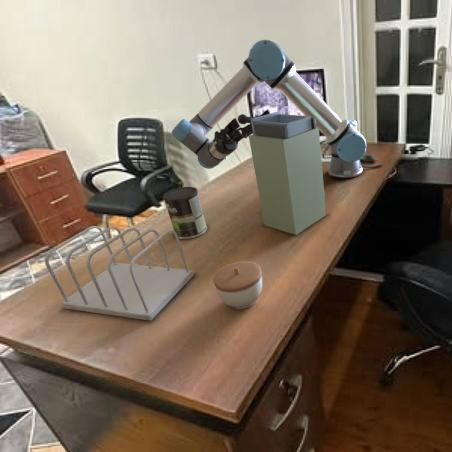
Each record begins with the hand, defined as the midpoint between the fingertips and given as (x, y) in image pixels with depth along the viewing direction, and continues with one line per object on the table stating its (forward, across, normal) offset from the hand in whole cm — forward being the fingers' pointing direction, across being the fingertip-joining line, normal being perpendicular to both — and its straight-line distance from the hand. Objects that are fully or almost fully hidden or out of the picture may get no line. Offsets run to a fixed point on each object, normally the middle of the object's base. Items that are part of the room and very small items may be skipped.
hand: (253, 117), depth 110 cm
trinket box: (+9, +38, -44) cm, 59 cm away
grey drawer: (+3, 0, -6) cm, 7 cm away
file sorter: (-15, +51, -30) cm, 61 cm away
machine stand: (-6, 0, -35) cm, 36 cm away
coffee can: (-28, +24, -22) cm, 43 cm away
